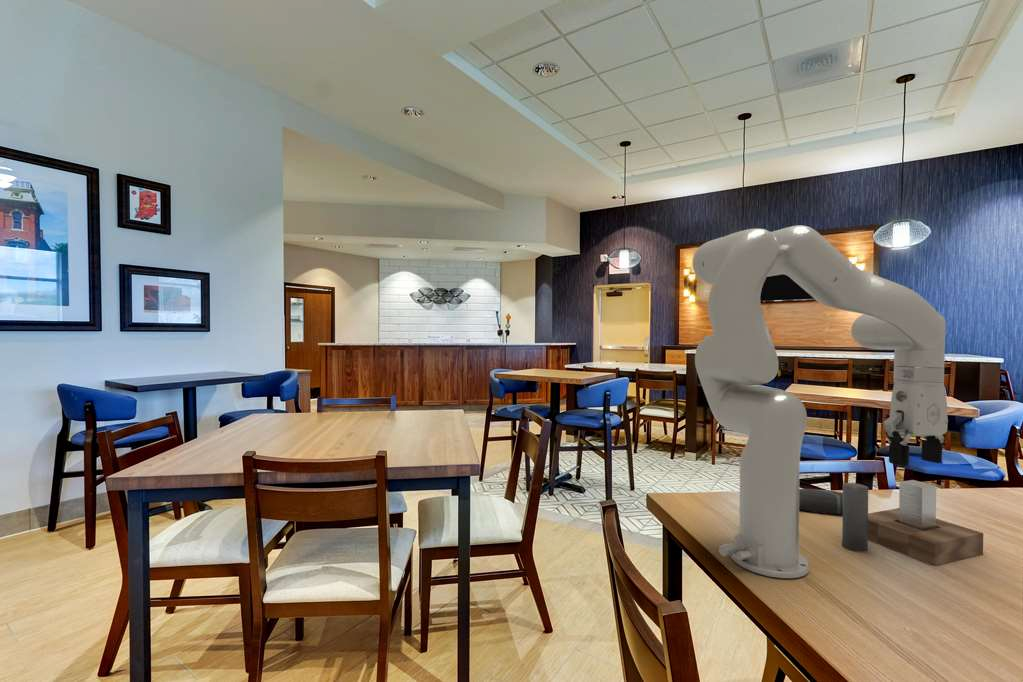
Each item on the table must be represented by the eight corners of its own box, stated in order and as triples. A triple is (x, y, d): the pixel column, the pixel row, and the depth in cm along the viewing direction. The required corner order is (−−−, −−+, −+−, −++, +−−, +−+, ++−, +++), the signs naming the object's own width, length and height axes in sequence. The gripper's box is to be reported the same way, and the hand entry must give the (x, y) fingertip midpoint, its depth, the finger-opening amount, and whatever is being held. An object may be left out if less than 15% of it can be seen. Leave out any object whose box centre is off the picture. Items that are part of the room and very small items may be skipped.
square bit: (921, 550, 91) (922, 488, 91) (898, 541, 95) (899, 481, 95) (935, 547, 93) (936, 486, 92) (912, 538, 96) (913, 480, 96)
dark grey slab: (865, 538, 98) (756, 523, 105) (841, 507, 115) (749, 497, 123) (866, 512, 98) (756, 499, 105) (841, 485, 115) (749, 476, 123)
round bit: (858, 553, 90) (858, 490, 90) (837, 544, 94) (838, 483, 94) (872, 550, 91) (873, 488, 91) (851, 541, 95) (852, 481, 95)
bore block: (935, 566, 85) (935, 543, 85) (855, 534, 98) (855, 515, 98) (983, 554, 90) (983, 533, 90) (901, 525, 103) (901, 507, 103)
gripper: (910, 378, 87) (907, 471, 87) (969, 377, 93) (966, 465, 93) (867, 374, 94) (865, 460, 94) (924, 374, 100) (922, 455, 100)
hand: (915, 463), depth 94 cm, fingers open, 9 cm apart
